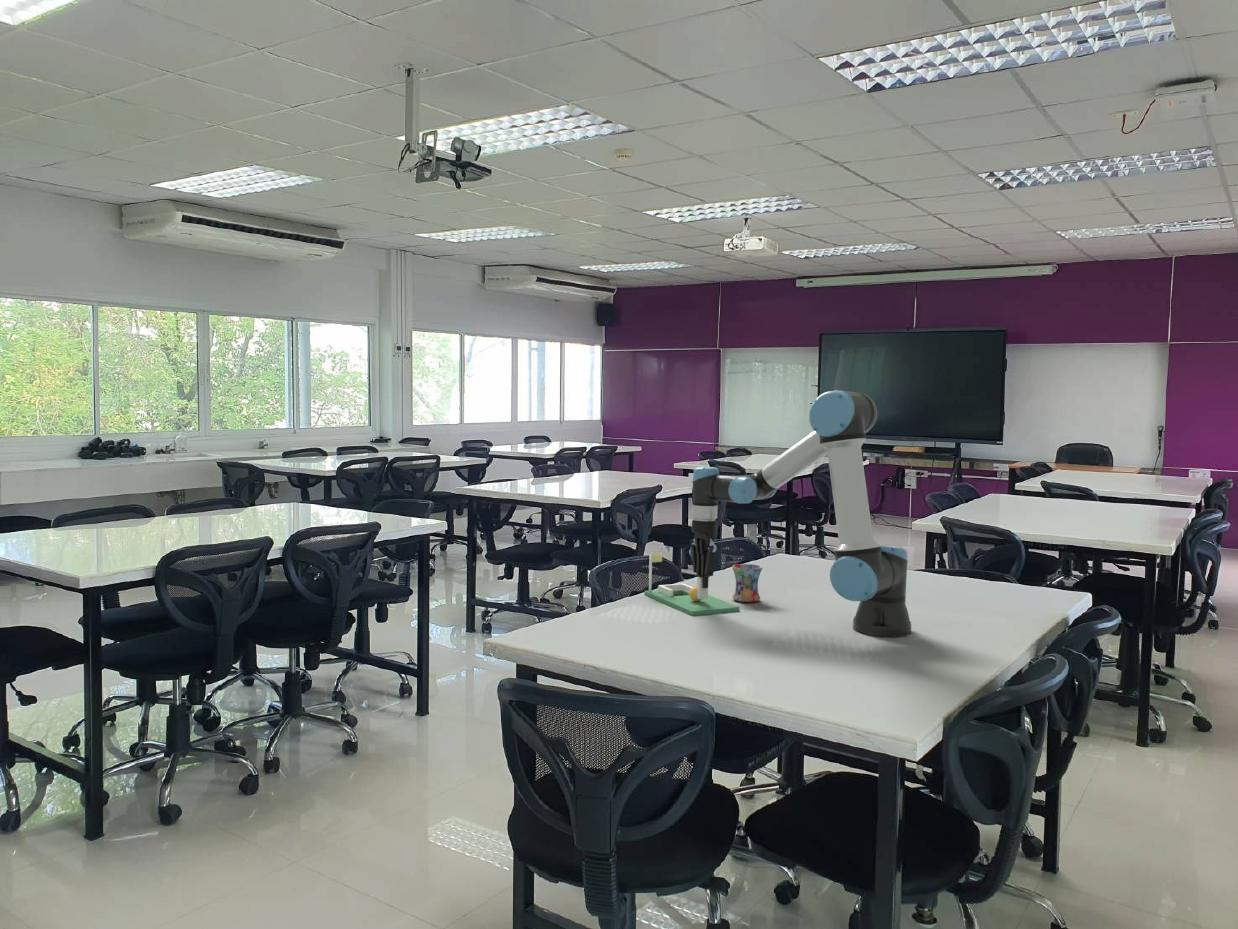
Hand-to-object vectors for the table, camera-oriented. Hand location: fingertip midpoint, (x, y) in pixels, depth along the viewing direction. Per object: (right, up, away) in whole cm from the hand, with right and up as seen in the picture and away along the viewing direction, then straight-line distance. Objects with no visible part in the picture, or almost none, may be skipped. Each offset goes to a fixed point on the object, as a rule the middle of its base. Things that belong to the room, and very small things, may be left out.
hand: (702, 598), depth 257 cm
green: (-3, -2, +7) cm, 8 cm away
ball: (-1, +1, +3) cm, 3 cm away
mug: (+15, -3, +12) cm, 20 cm away
